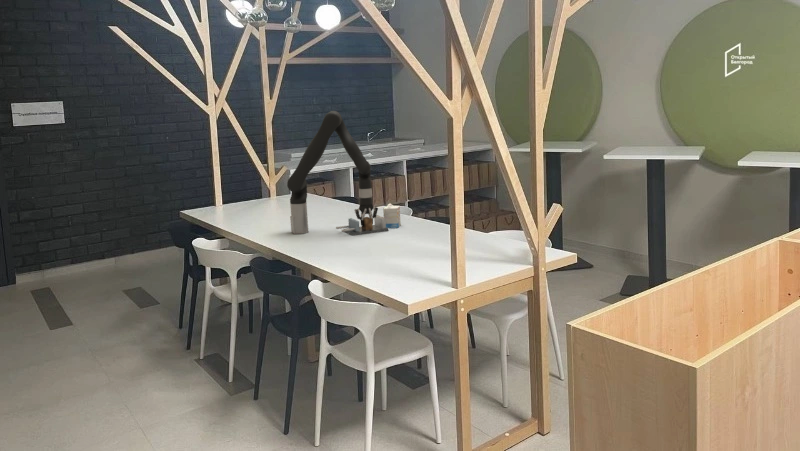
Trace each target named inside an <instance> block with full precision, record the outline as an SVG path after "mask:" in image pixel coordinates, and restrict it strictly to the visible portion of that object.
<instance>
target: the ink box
mask: <svg viewBox="0 0 800 451" xmlns="http://www.w3.org/2000/svg"><path fill="white" fill-rule="evenodd" d="M382 210H383V217H384V218H386V228H388V229H398V228H400V226H401V225H402V222H401V207H400V205H393V204H392V203H388V204H387V205H386V206H385V207H383V209H382Z"/></svg>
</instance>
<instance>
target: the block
mask: <svg viewBox="0 0 800 451" xmlns="http://www.w3.org/2000/svg"><path fill="white" fill-rule="evenodd" d="M372 225H373V224H372V218H370V217H369V216H364V227H363V226H362V225H361V224H360V227H362V228H363V229H365V230H369V229H373V226H372Z"/></svg>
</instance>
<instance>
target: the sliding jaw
mask: <svg viewBox="0 0 800 451" xmlns="http://www.w3.org/2000/svg"><path fill="white" fill-rule="evenodd" d="M347 222H348V225H342V226H341V225H340V226H336V227H335V229H336V230H339V229H341V233H342V232H344V233H346V232H345V231H352V230H354V231H356V232H357V231H360V227H361V226H360V221H359V220H357V219H354V218H352V217H351V218H348V221H347ZM346 228H350V229H346Z"/></svg>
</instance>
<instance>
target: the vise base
mask: <svg viewBox="0 0 800 451" xmlns="http://www.w3.org/2000/svg"><path fill="white" fill-rule="evenodd" d="M373 223H374V224H372V226H373V229H369V230H365V229H363V228H362V226H359V227H360V231H357V232H356V231H354V230H352V231H345V232H344V233H346V234H347V235H350V236H354V237H355V236H360V235H367V234H368V235H369V234H375V233H383V232H389V228H386V218H384V216H381V215H378V214H377V215H376V218H373ZM345 229H350V228H345Z"/></svg>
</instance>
